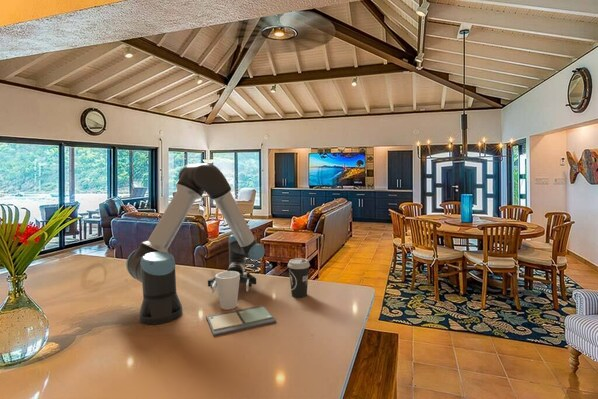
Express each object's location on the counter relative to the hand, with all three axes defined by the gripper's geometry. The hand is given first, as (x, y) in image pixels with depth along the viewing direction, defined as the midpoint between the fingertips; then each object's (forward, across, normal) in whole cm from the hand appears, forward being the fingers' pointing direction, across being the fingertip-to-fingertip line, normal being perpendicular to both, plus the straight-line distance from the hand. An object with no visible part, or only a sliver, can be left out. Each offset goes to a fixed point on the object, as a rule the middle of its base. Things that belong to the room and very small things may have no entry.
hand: (230, 288), depth 138 cm
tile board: (+14, -5, -7) cm, 16 cm away
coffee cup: (-7, -28, -7) cm, 30 cm away
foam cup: (+1, +1, -7) cm, 7 cm away
